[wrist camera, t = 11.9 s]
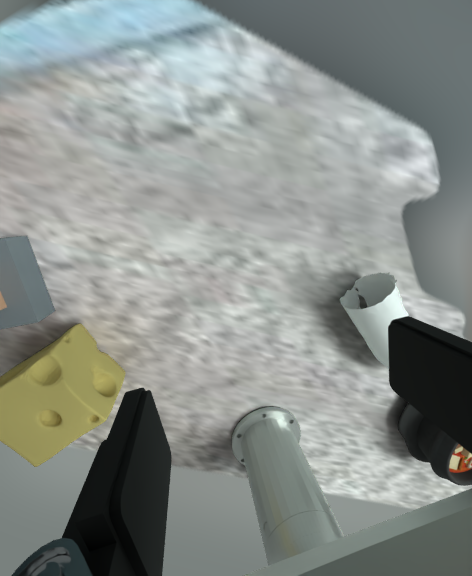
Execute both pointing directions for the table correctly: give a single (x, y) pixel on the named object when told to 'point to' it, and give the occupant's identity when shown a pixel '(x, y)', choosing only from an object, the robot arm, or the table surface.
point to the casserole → (435, 447)
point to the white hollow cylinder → (375, 311)
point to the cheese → (57, 396)
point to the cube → (2, 302)
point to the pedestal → (21, 284)
